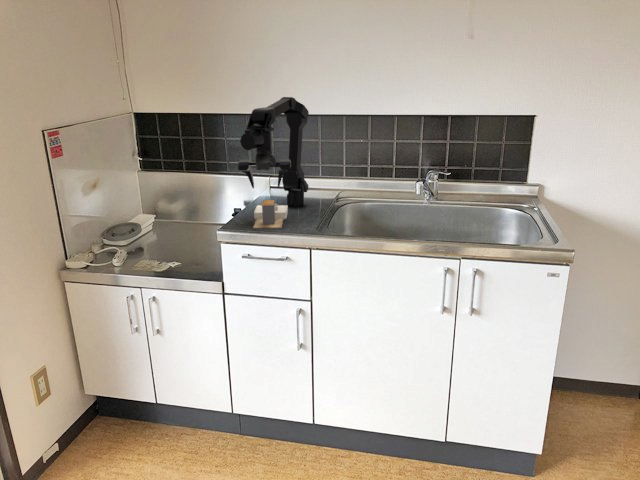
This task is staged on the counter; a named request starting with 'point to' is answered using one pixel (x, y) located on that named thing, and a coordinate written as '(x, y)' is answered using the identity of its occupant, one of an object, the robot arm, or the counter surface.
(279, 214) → the block
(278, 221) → the cork pad
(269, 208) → the plug
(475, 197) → the counter surface
